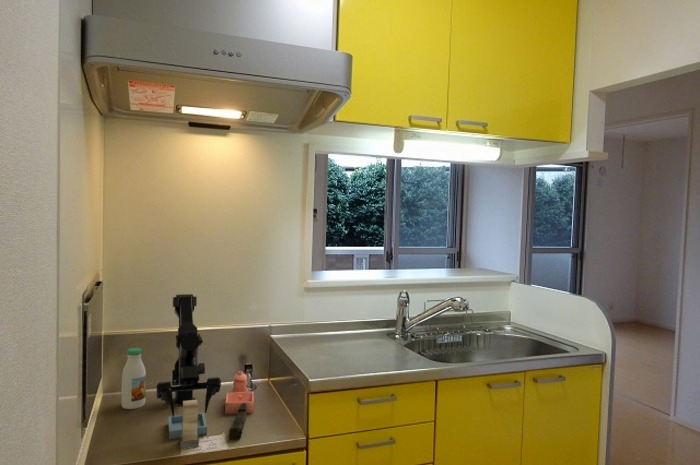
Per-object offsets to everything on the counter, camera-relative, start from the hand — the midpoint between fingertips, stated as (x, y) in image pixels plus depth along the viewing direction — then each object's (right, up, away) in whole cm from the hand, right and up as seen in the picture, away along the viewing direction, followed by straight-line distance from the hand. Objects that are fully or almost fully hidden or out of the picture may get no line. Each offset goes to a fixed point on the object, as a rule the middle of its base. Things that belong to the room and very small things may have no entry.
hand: (189, 414), depth 144 cm
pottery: (+8, -8, +31) cm, 33 cm away
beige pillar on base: (0, -9, 0) cm, 9 cm away
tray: (-4, -8, +9) cm, 13 cm away
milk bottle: (-28, -7, +25) cm, 38 cm away
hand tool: (+12, -9, +13) cm, 19 cm away
